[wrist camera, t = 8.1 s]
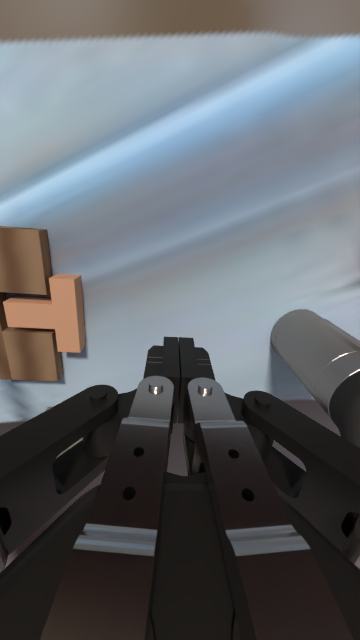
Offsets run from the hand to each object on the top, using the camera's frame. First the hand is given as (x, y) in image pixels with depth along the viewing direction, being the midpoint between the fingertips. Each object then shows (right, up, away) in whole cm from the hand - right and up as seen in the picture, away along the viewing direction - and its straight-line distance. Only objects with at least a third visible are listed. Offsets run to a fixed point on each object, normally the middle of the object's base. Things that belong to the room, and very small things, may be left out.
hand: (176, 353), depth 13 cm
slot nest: (-25, +4, +27) cm, 37 cm away
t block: (-21, +3, +28) cm, 35 cm away
